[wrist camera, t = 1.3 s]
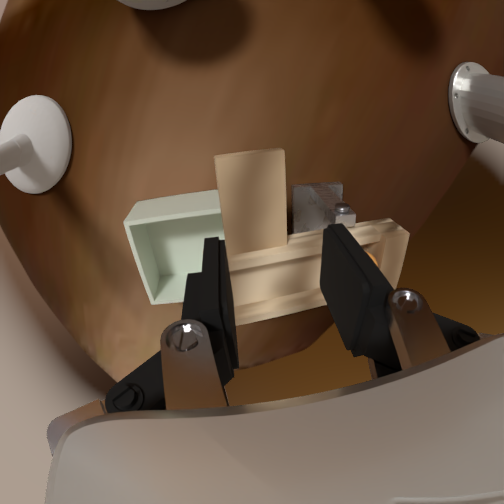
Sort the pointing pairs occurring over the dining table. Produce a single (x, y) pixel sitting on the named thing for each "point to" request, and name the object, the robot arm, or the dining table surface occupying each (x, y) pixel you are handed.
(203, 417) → the robot arm
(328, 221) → the lever stand
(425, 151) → the dining table surface
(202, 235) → the pale green open box
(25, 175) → the candlestick
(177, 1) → the teacup
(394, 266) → the lever
